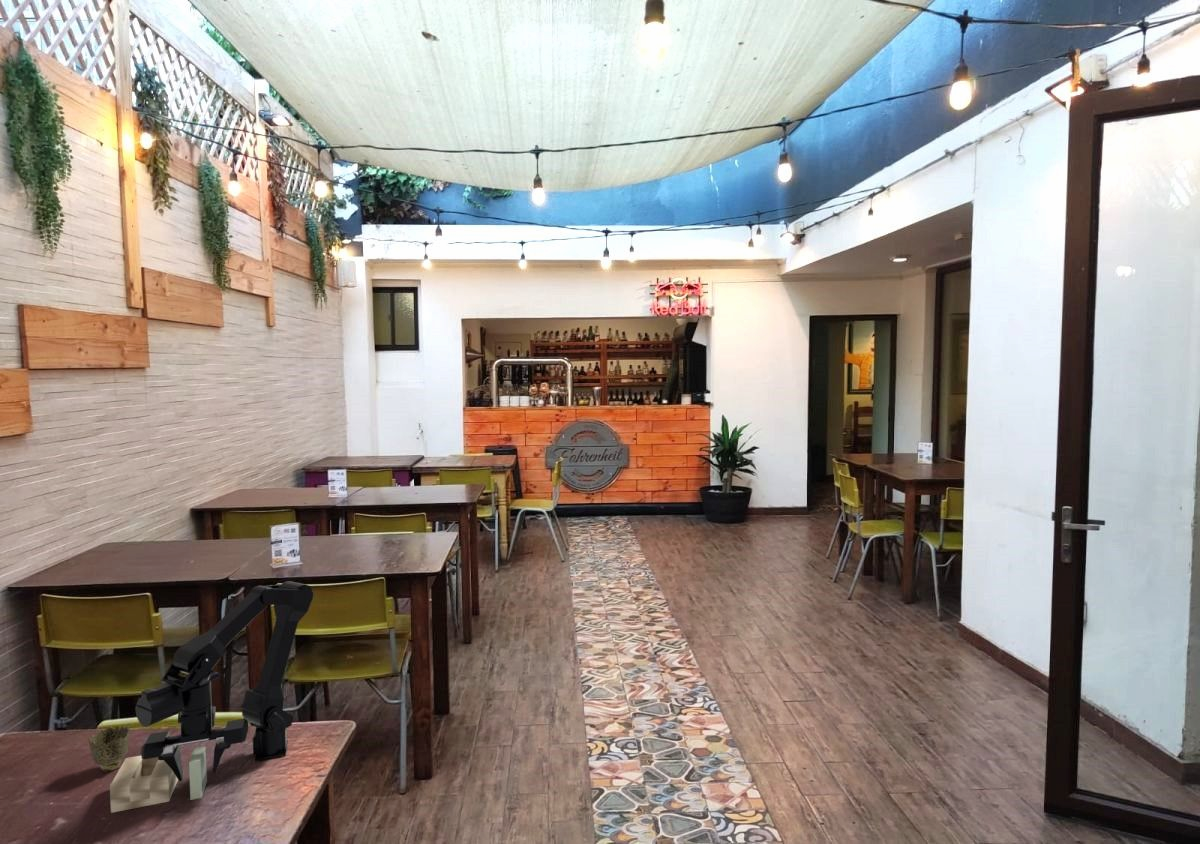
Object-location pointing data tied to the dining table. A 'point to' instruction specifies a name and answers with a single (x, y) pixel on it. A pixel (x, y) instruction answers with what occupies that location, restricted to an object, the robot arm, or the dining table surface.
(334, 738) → the dining table surface
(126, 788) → the hollow square frame
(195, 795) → the green rectangular block
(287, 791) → the dining table surface
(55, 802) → the dining table surface
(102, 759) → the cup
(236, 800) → the dining table surface
